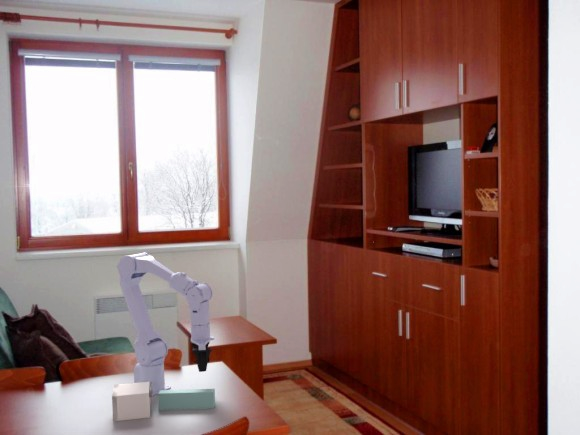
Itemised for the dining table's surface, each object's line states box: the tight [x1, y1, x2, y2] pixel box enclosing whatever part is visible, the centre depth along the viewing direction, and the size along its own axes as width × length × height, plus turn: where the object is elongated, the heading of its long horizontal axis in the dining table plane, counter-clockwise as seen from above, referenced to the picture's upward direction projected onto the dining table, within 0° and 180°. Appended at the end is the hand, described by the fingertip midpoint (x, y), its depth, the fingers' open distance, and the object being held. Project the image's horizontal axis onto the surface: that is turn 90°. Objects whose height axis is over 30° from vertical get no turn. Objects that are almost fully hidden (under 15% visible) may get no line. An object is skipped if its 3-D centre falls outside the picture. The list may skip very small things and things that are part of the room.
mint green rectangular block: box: [157, 388, 216, 411], centre depth 185 cm, size 16×3×5 cm, turn 89°
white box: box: [111, 381, 153, 422], centre depth 182 cm, size 11×11×7 cm
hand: (201, 367), depth 195 cm, fingers open, 7 cm apart
